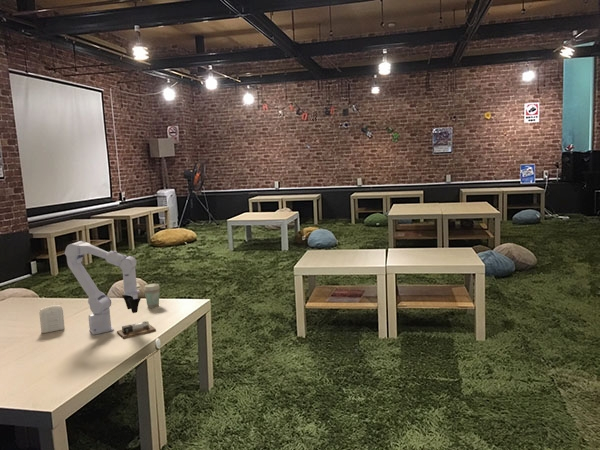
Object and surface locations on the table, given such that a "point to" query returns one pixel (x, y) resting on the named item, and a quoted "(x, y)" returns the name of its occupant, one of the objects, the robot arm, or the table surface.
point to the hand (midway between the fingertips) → (132, 310)
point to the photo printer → (51, 318)
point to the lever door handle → (135, 327)
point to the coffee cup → (152, 295)
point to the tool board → (136, 332)
